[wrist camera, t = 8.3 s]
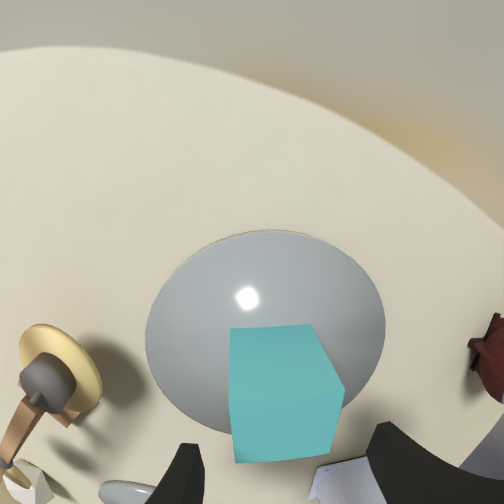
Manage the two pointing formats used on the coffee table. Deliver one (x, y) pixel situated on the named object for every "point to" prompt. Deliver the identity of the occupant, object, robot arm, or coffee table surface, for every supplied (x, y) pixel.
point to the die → (39, 489)
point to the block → (281, 394)
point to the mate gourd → (491, 358)
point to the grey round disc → (124, 492)
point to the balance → (48, 389)
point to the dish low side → (259, 315)
